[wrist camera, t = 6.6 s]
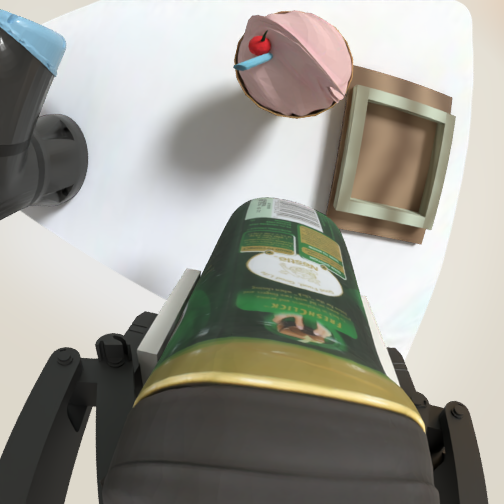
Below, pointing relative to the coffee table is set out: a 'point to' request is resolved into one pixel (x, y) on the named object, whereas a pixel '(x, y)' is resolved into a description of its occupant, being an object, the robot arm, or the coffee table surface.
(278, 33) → the ice cream cone
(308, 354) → the coffee jar
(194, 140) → the coffee table surface
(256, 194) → the coffee table surface
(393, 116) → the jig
